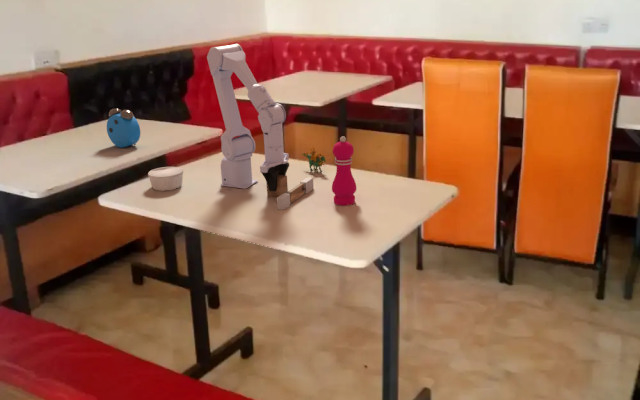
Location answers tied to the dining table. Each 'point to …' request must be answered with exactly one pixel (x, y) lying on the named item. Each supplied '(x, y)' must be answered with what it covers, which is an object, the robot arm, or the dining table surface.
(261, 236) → the dining table surface
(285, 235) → the dining table surface
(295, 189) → the door
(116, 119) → the alarm clock
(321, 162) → the figurine
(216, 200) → the dining table surface
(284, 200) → the wall frame
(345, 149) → the pepper mill
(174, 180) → the ramekin
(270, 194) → the block
